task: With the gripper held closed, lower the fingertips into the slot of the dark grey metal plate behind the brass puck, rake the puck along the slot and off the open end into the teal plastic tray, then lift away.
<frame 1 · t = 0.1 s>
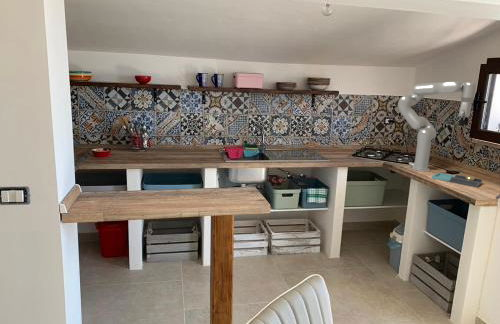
hand: (463, 125, 264), 37 cm above the worktop, fingers open, 9 cm apart
slot plate: (465, 182, 254), on the worktop
tray: (443, 178, 264), on the worktop
brass puck: (469, 180, 253), point 2 cm above the worktop, touching slot plate
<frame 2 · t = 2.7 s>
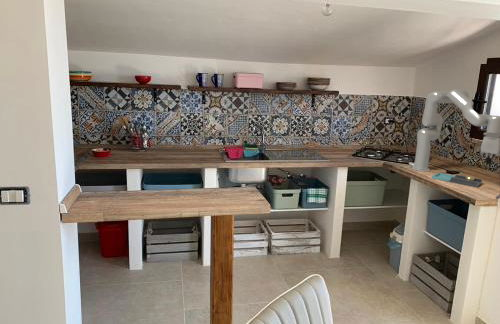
hand: (487, 163, 244), 15 cm above the worktop, fingers closed
nothing on the worktop moved.
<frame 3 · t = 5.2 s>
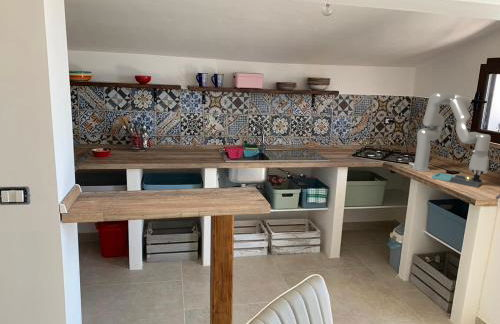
hand: (476, 180, 250), 3 cm above the worktop, fingers closed
brass puck: (468, 180, 253), point 2 cm above the worktop, touching gripper, slot plate
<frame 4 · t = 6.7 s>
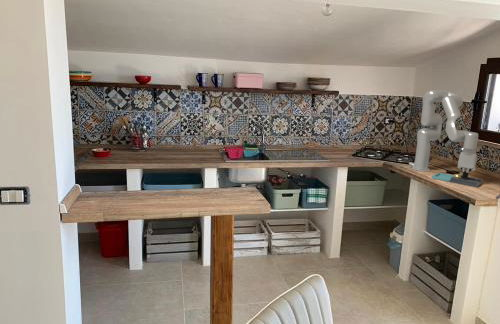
hand: (464, 177, 254), 3 cm above the worktop, fingers closed
brass puck: (457, 178, 257), point 2 cm above the worktop, touching gripper, slot plate
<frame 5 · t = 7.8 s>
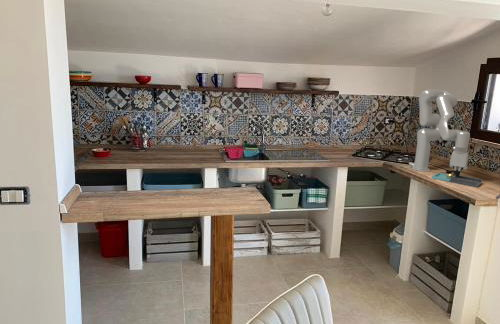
hand: (456, 176, 258), 3 cm above the worktop, fingers closed
brass puck: (451, 177, 259), point 2 cm above the worktop, tilted 40°, touching gripper, tray
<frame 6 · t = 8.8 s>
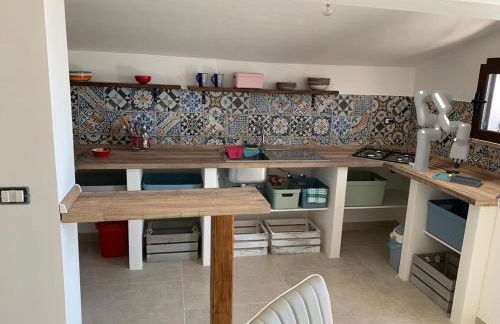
hand: (456, 168, 258), 9 cm above the worktop, fingers closed
brass puck: (451, 177, 260), point 2 cm above the worktop, tilted 31°, touching tray
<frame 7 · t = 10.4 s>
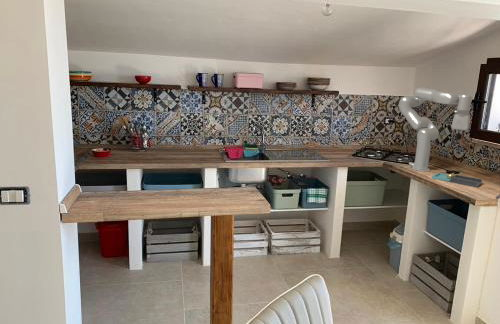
hand: (458, 139, 262), 27 cm above the worktop, fingers closed
nothing on the worktop moved.
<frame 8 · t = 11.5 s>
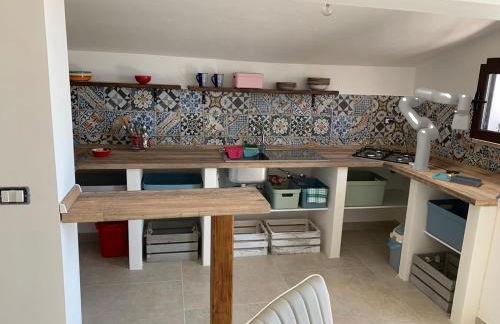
hand: (458, 139, 262), 27 cm above the worktop, fingers closed
nothing on the worktop moved.
at the end: brass puck inside the target area on the tray (4.9 cm from its centre), point 1.7 cm above the tray's base; brass puck touching tray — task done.
